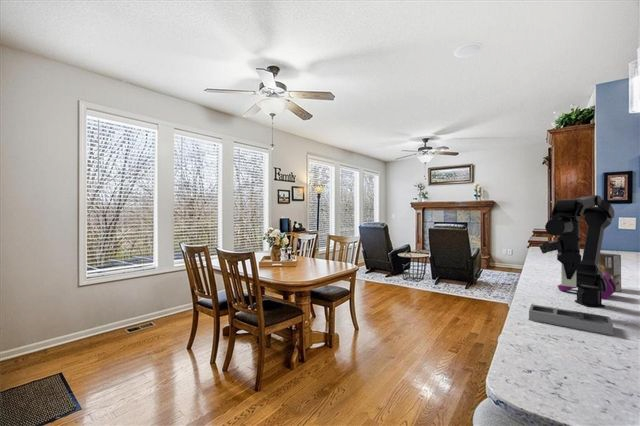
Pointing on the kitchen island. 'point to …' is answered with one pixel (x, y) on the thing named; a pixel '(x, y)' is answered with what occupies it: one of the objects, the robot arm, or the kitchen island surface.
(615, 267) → the coffee box
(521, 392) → the kitchen island surface
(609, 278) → the mounting bracket
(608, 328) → the slotted holder
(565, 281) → the peg
